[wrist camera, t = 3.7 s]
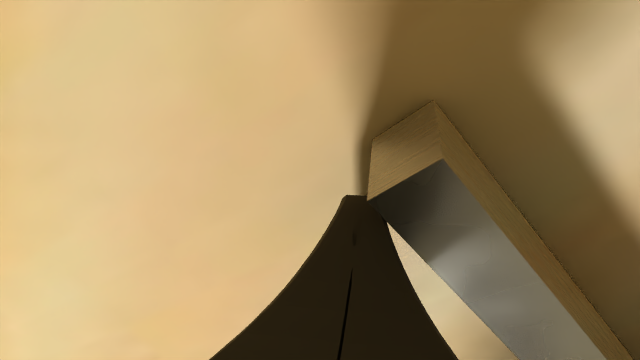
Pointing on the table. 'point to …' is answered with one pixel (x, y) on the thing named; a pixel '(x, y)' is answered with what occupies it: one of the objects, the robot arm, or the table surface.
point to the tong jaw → (481, 242)
